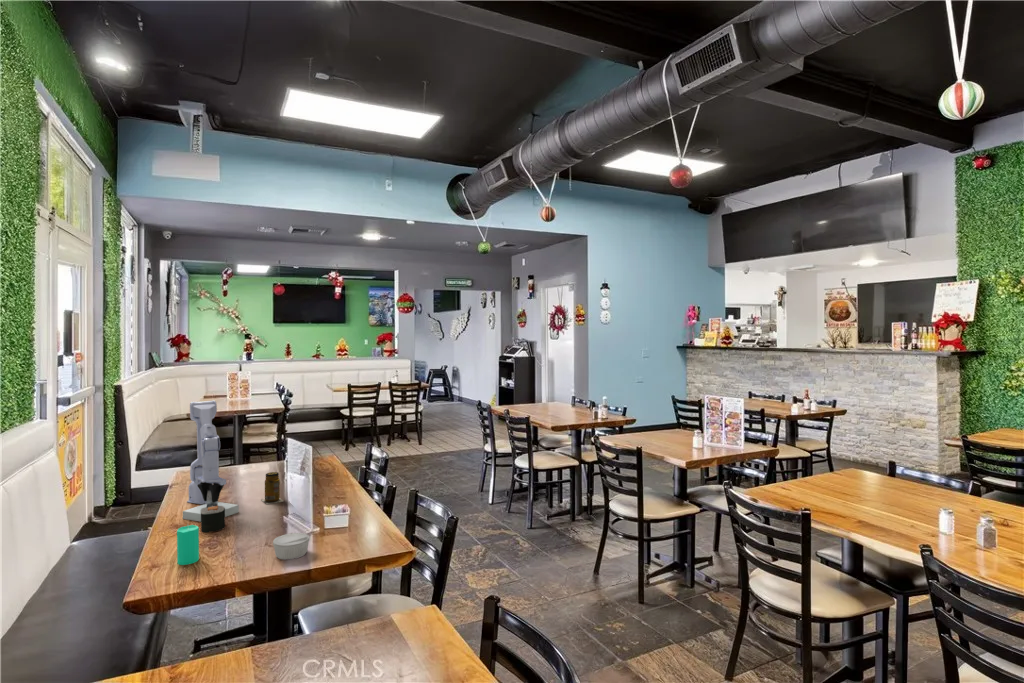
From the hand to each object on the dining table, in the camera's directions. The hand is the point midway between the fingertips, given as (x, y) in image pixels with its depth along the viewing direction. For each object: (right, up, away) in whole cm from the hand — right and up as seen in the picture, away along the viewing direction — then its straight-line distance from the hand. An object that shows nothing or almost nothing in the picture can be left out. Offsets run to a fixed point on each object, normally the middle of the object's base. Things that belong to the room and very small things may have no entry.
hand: (211, 501), depth 221 cm
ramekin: (+49, -6, -41) cm, 64 cm away
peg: (0, -3, 0) cm, 3 cm away
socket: (0, -6, 0) cm, 6 cm away
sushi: (+9, -6, -15) cm, 19 cm away
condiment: (+16, -6, +19) cm, 26 cm away
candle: (+18, -6, -46) cm, 49 cm away
